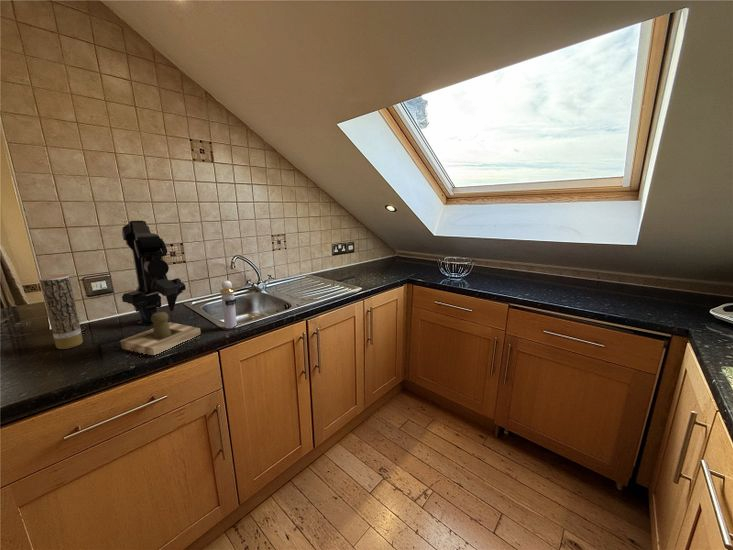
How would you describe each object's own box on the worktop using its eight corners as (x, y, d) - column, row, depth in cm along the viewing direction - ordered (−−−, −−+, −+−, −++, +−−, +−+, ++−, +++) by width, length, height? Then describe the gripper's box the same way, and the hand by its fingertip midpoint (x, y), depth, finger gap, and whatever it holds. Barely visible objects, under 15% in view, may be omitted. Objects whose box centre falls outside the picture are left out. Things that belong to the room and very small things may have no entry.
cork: (177, 339, 110) (173, 311, 108) (162, 346, 105) (158, 317, 102) (164, 337, 112) (160, 309, 109) (149, 344, 106) (144, 315, 104)
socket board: (121, 348, 102) (120, 340, 102) (170, 329, 119) (169, 322, 118) (154, 356, 97) (152, 348, 97) (200, 335, 114) (200, 328, 113)
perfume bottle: (220, 327, 121) (215, 280, 117) (234, 324, 125) (230, 278, 121) (227, 331, 117) (222, 283, 113) (241, 327, 122) (237, 280, 117)
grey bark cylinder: (88, 341, 108) (74, 274, 102) (71, 350, 101) (55, 278, 95) (69, 341, 107) (54, 274, 102) (50, 350, 101) (33, 278, 95)
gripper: (141, 280, 91) (148, 327, 94) (194, 269, 108) (199, 309, 112) (117, 277, 95) (125, 322, 98) (172, 266, 112) (177, 305, 115)
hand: (159, 314), depth 106 cm, fingers open, 9 cm apart
